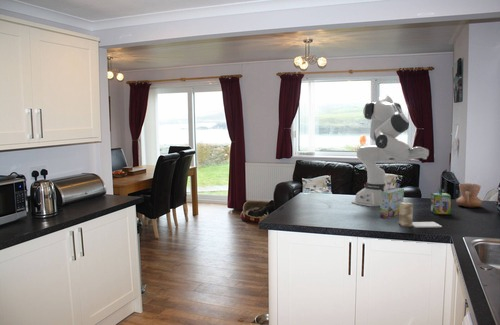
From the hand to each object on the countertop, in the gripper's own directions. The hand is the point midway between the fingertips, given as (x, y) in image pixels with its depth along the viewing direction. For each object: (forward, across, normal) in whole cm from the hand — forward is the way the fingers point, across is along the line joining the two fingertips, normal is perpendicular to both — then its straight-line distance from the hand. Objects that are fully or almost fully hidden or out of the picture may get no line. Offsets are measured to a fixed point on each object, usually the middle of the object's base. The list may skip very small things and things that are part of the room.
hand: (417, 159), depth 213 cm
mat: (+14, +3, +32) cm, 35 cm away
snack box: (+17, +27, +26) cm, 41 cm away
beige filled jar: (+6, +9, +34) cm, 36 cm away
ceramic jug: (+73, +13, +7) cm, 75 cm away
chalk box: (+44, +14, +18) cm, 50 cm away
